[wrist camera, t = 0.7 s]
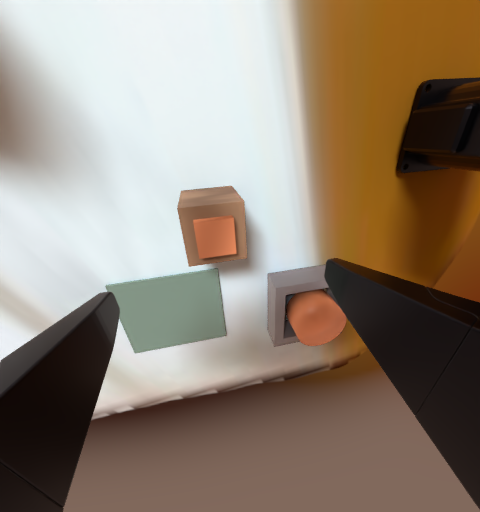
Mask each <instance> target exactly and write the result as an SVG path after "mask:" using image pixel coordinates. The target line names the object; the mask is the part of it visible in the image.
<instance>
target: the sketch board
mask: <svg viewBox="0 0 480 512" xmlns="http://www.w3.org/2000/svg"><path fill="white" fill-rule="evenodd" d="M105 287H106V289H107V291H108V292H112V293H113V294H114V296H115V298H116V300H117V303H118V305H119V308H120V315H119V318H120V321H121V323H122V325H123V328H124V330H125V332H126V334H127V337H128V339H129V341H130V343H131V346H132V348H133V350H134V352H135V353H140V352H145V351H150V350H155V349H161V348H166V347H171V346H176V345H181V344H187V343H192V342H197V341H202V340H207V339H213V338H218V337H223V336H226V331H225V323H224V316H223V308H222V300H221V292H220V285H219V277H218V269H211V270H204V271H198V272H191V273H184V274H178V275H171V276H165V277H158V278H151V279H145V280H138V281H131V282H125V283H118V284H111V285H106V286H105Z"/></svg>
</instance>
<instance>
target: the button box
mask: <svg viewBox="0 0 480 512" xmlns="http://www.w3.org/2000/svg"><path fill="white" fill-rule="evenodd" d="M325 267H326V265H319V266H313V267H307V268H300V269H294V270H288V271H281V272H275V273H269V274H268V332H269V334H270V337H271V339H272V342H273V344H274V347H275V346H280V345H285V344H290V343H295V342H300V341H299V339H298V337H297V335H296V333H295V332H294V330H293V328H292V326H291V324H290V322H289V320H284V317H285V298H286V295H288V294H294V293H300V292H306V291H311V290H317V289H323V288H327V293H328V294H329V295H330V297H331V298H332V299H333V300H334V301H335V302H336V304H337V305H338V303H337V301H336V299H335V297H334V296H333V294H332V292H331V290H330V288H329V286H328V284H327V283H326V281H325V278H324V273H325ZM338 306H339V305H338ZM339 307H340V306H339ZM341 332H342V331H341Z"/></svg>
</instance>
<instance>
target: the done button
mask: <svg viewBox="0 0 480 512" xmlns="http://www.w3.org/2000/svg"><path fill="white" fill-rule="evenodd" d="M286 316H287V318H288V320H289V322H290V324H291V326H292V328H293V330H294V332H295V333H296V335H297V337H298V339H299V341H300V342H301V343H303V344H305V345H308V346H317V345H322V344H325V343H327V342H329V341H331V340H332V339H334V338H335V337H337V336H338V335H339V334H340V333H341V331H342V330H343V328H344V327H345V324H346V315H345V314H344V313H343V311H342V310H341V308H340V307H339V306H338V305H337V304H336V302H335V301H334V300H333V299H332V298H331V297H330V295H329V294H328V293H327V292H326V291H325V290H323V289H317V290H311V291H306V292H300V293H297V294H295V295H294V296H293V297H292V298H291V299H290V300H289V302H288V304H287V306H286Z"/></svg>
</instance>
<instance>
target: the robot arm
mask: <svg viewBox="0 0 480 512" xmlns="http://www.w3.org/2000/svg"><path fill="white" fill-rule="evenodd" d="M426 86H427V89H426V91H425V88H426ZM404 165H405V167H404ZM403 167H404V168H403ZM447 168H455V169H464V170H473V171H480V78H459V79H433V80H427V81H424V82H422V83H421V84H420V86H419V88H418V91H417V94H416V98H415V102H414V106H413V109H412V113H411V117H410V121H409V124H408V128H407V132H406V136H405V139H404V143H403V147H402V151H401V154H400V158H399V162H398V166H397V171H398V172H401V173H408V172H418V171H428V170H437V169H447ZM324 278H325V281H326V283H327V284H328V286H329V288H330V290H331V292H332V294H333V296H334V297H335V299H336V301H337V303H338V305H339V306H340V308H341V310H342V311H343V313H344V314H345V315H346V317H347V318H348V320H349V321H350V323H351V324H352V326H353V327H354V328H355V330H356V331H357V333H358V334H359V336H360V337H361V339H362V340H363V342H364V343H365V344H366V346H367V347H368V349H369V350H370V352H371V353H372V354H373V356H374V357H375V359H376V360H377V362H378V363H379V365H380V366H381V368H382V369H383V370H384V372H385V373H386V375H387V376H388V378H389V379H390V380H391V382H392V383H393V385H394V386H395V388H396V389H397V391H398V392H399V394H400V395H401V396H402V398H403V399H404V401H405V402H406V404H407V405H408V407H409V408H410V409H411V410H412V412H413V414H414V415H416V416H415V417H416V418H417V420H418V421H419V423H420V424H421V426H422V427H423V428H424V430H425V431H426V433H427V434H428V436H429V437H430V439H431V440H432V442H433V443H434V444H435V446H436V447H437V449H438V450H439V452H440V453H441V455H442V456H443V457H444V459H445V460H446V462H447V463H448V465H449V466H450V467H451V469H452V470H453V472H454V473H455V475H456V476H457V478H458V479H459V480H460V482H461V484H462V485H463V486H464V488H465V489H466V491H467V492H468V494H469V495H470V496H471V498H472V499H473V501H474V502H475V504H476V505H477V506H478V508H479V509H480V303H479V302H475V301H472V300H469V299H465V298H462V297H458V296H455V295H452V294H448V293H445V292H441V291H438V290H435V289H432V288H429V287H425V286H423V285H420V284H416V283H413V282H410V281H407V280H404V279H401V278H398V277H395V276H391V275H388V274H385V273H382V272H379V271H376V270H373V269H369V268H366V267H363V266H360V265H357V264H354V263H351V262H348V261H344V260H341V259H338V258H333V259H328V260H327V262H326V267H325V273H324ZM119 315H120V308H119V305H118V303H117V300H116V298H115V296H114V294H113V293H112V292H103V293H99V294H98V295H96V296H95V297H93V298H92V299H90V300H89V301H87V302H86V303H84V304H83V305H82V306H80V307H79V308H77V309H76V310H74V311H73V312H71V313H70V314H68V315H67V316H65V317H64V318H62V319H61V320H59V321H58V322H57V323H55V324H54V325H52V326H51V327H49V328H48V329H46V330H45V331H43V332H42V333H40V334H39V335H37V336H36V337H34V338H33V339H32V340H30V341H29V342H27V343H26V344H24V345H23V346H21V347H20V348H18V349H17V350H15V351H14V352H12V353H11V354H9V355H8V356H7V357H5V358H4V359H2V360H1V362H0V512H63V507H64V505H65V502H66V499H67V496H68V493H69V490H70V486H71V483H72V480H73V477H74V473H75V470H76V467H77V464H78V461H79V457H80V454H81V451H82V448H83V445H84V441H85V438H86V435H87V432H88V428H89V425H90V422H91V419H92V416H93V412H94V409H95V406H96V403H97V400H98V396H99V393H100V390H101V387H102V383H103V380H104V377H105V374H106V371H107V367H108V364H109V361H110V358H111V354H112V351H113V347H114V343H115V337H116V332H117V326H118V321H119Z"/></svg>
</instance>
